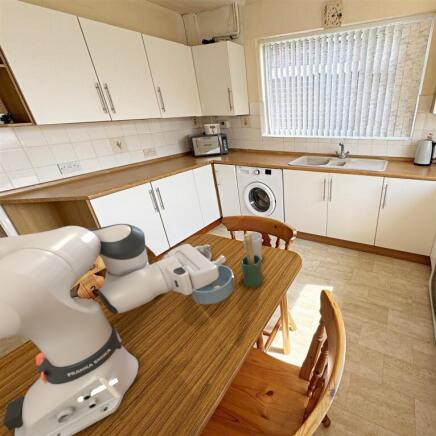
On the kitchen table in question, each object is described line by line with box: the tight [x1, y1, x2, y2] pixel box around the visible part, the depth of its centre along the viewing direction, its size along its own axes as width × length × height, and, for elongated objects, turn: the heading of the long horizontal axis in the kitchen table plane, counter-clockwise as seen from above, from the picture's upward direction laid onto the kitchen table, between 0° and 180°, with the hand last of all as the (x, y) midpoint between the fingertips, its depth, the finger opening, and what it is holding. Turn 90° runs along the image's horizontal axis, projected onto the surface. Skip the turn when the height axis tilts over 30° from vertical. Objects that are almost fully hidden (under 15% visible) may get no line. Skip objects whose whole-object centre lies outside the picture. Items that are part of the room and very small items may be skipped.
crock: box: [240, 255, 264, 288], centre depth 89 cm, size 7×7×10 cm
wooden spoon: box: [243, 232, 255, 265], centre depth 87 cm, size 2×2×20 cm
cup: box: [242, 231, 263, 261], centre depth 102 cm, size 8×8×12 cm
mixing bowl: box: [190, 264, 236, 306], centre depth 86 cm, size 15×15×6 cm
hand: (216, 252), depth 76 cm, fingers open, 8 cm apart
